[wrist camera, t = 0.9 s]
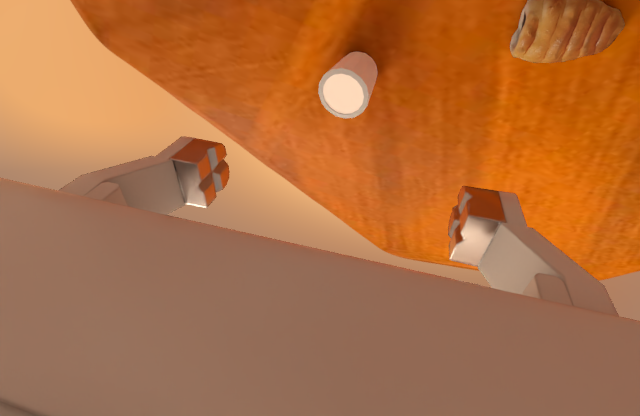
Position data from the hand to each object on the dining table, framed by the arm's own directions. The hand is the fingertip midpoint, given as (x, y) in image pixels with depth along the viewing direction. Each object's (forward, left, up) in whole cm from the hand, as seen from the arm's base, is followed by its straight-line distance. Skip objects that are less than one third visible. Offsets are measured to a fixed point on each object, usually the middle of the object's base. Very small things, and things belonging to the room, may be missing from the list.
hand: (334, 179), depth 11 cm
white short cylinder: (+13, -10, -37) cm, 41 cm away
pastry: (+6, +12, -37) cm, 39 cm away
